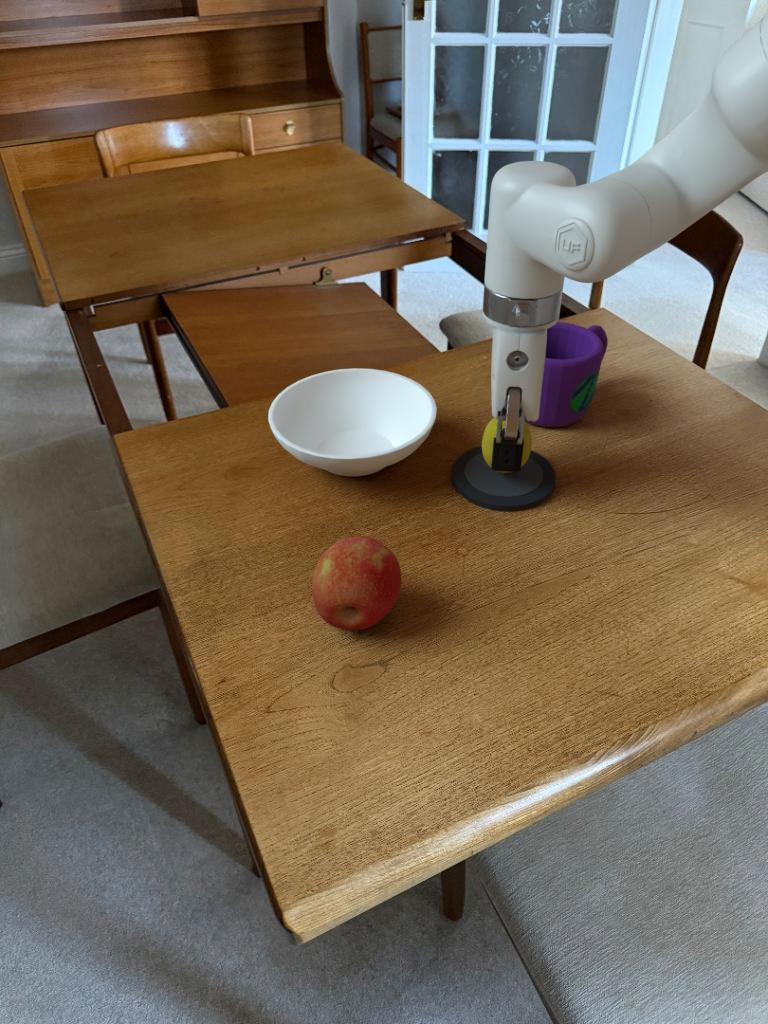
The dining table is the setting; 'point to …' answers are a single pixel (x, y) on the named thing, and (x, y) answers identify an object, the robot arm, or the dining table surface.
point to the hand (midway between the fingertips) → (506, 451)
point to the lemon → (491, 434)
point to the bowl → (352, 419)
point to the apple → (356, 583)
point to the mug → (570, 373)
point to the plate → (503, 482)
